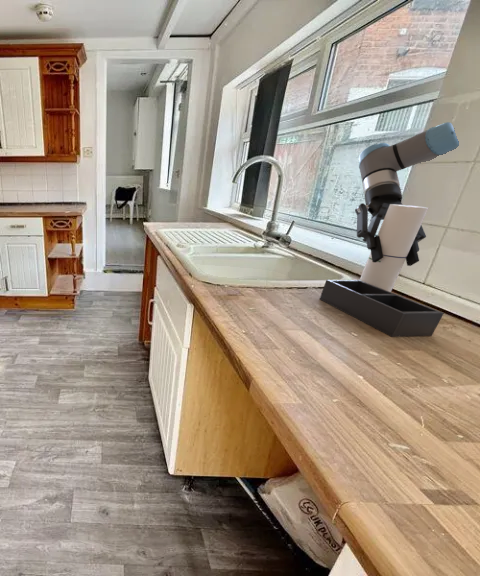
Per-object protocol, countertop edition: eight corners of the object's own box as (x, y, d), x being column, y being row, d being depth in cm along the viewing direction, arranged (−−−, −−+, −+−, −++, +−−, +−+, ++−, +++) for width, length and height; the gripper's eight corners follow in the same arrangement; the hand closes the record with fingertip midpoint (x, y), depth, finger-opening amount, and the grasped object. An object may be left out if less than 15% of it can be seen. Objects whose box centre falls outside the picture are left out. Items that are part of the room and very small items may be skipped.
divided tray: (352, 299, 84) (359, 280, 82) (431, 336, 66) (444, 312, 64) (319, 299, 83) (326, 279, 80) (391, 336, 65) (402, 313, 63)
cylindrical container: (384, 304, 81) (427, 208, 72) (351, 295, 86) (387, 204, 77) (388, 298, 86) (429, 207, 76) (356, 290, 91) (391, 203, 81)
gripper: (411, 202, 89) (428, 272, 80) (334, 197, 92) (342, 263, 84) (434, 184, 82) (455, 258, 73) (350, 179, 86) (360, 249, 77)
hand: (395, 261), depth 79 cm, fingers closed on cylindrical container, 7 cm apart
